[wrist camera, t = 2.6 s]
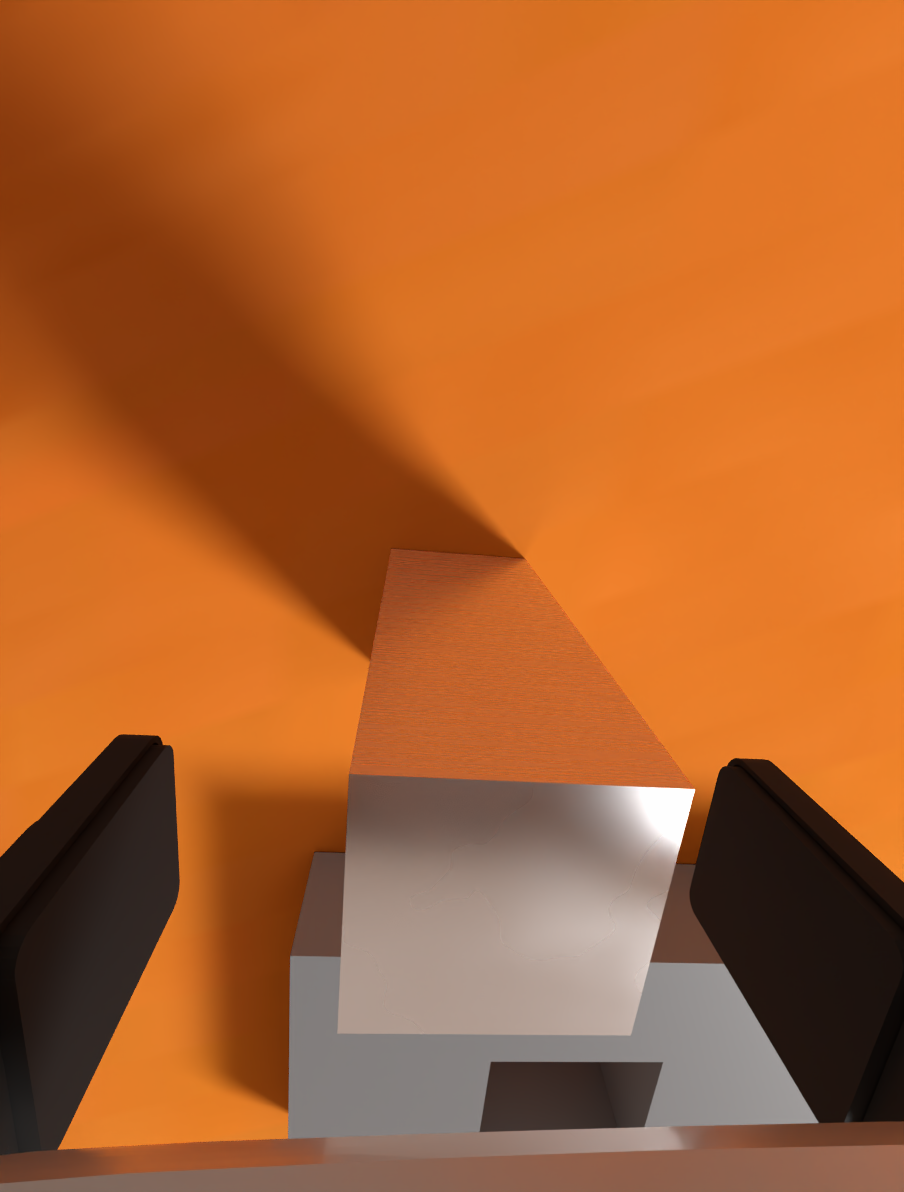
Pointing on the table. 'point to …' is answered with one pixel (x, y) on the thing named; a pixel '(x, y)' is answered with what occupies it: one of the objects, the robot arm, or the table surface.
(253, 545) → the table surface
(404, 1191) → the robot arm
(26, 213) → the table surface
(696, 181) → the table surface
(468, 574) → the steel pin
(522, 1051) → the block
